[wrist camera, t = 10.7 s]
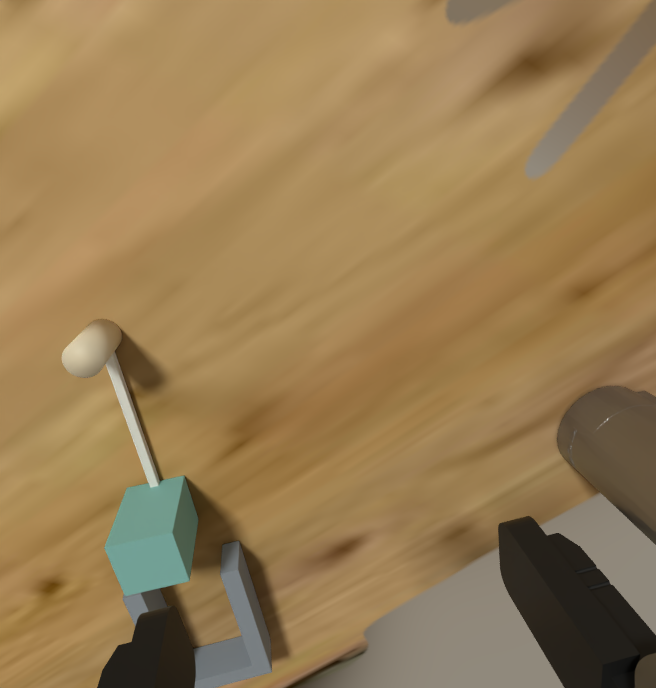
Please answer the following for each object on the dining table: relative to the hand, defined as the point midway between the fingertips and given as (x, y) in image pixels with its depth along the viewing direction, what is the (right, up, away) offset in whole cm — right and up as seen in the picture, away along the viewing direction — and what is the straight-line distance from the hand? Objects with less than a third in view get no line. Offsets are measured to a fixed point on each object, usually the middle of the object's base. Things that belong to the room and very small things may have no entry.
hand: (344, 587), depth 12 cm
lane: (-13, -20, +36) cm, 43 cm away
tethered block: (-16, -1, +28) cm, 33 cm away
